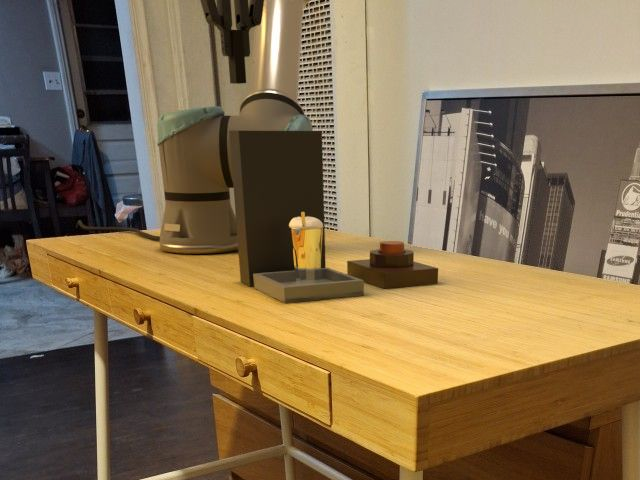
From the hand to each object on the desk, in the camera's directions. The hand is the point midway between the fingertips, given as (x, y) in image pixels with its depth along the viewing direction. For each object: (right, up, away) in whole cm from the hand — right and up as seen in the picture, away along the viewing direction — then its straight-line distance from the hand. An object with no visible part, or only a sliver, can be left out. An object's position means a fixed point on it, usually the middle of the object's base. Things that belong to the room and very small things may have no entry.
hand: (238, 83), depth 110 cm
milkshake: (+11, -32, -5) cm, 34 cm away
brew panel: (+22, -28, +4) cm, 36 cm away
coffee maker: (+9, -31, -3) cm, 32 cm away
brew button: (+22, -24, +2) cm, 33 cm away
